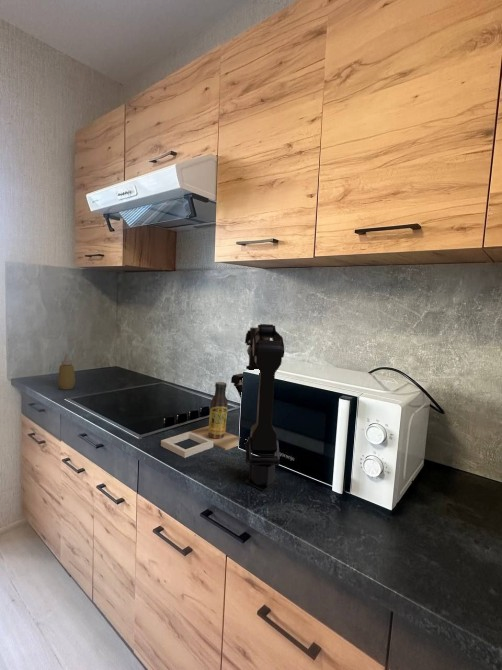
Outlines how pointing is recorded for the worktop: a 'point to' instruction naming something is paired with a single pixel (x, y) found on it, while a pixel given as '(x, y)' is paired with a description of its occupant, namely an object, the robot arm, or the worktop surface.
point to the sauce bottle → (218, 412)
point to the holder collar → (184, 453)
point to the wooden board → (224, 443)
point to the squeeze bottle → (66, 374)
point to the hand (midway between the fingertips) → (254, 406)
